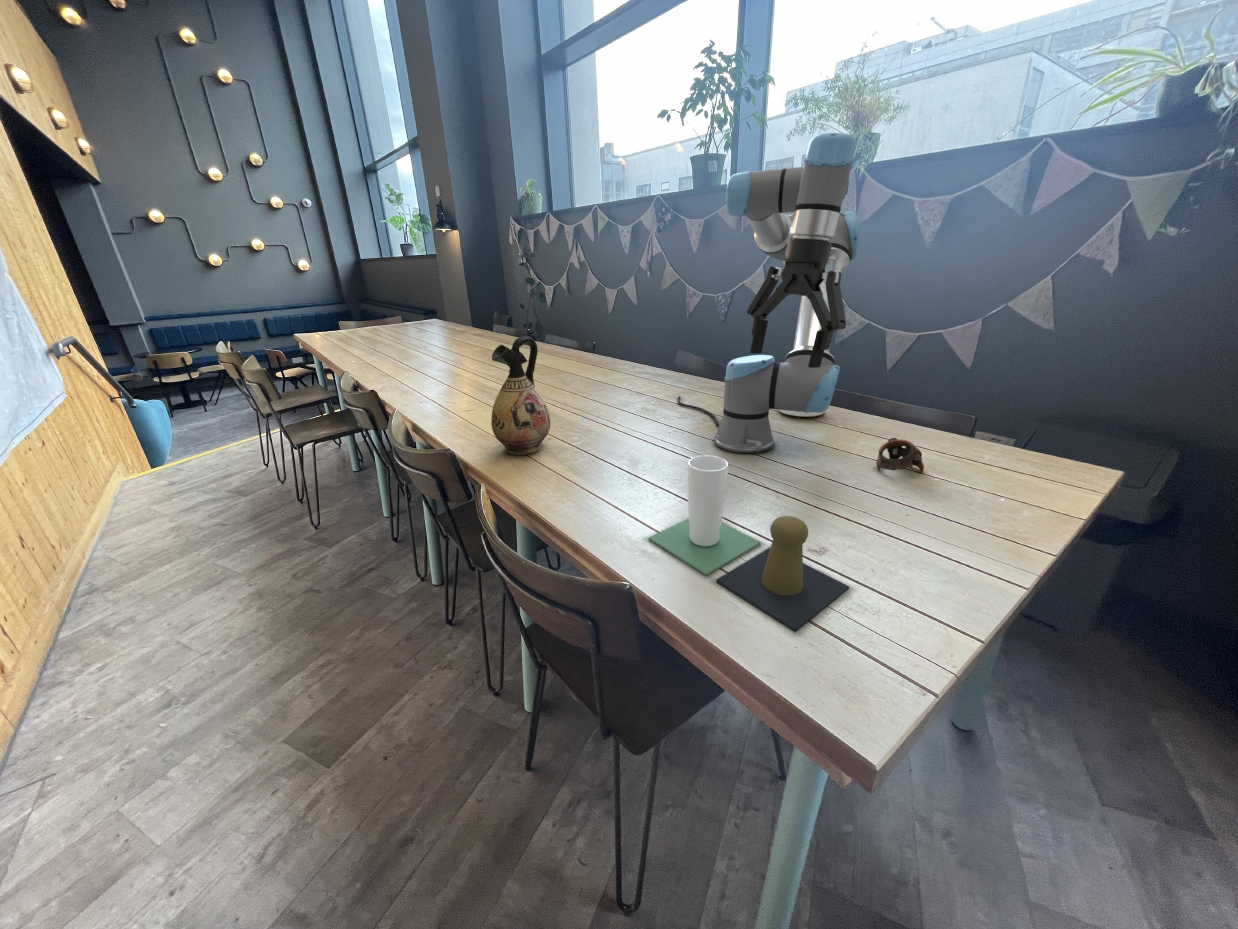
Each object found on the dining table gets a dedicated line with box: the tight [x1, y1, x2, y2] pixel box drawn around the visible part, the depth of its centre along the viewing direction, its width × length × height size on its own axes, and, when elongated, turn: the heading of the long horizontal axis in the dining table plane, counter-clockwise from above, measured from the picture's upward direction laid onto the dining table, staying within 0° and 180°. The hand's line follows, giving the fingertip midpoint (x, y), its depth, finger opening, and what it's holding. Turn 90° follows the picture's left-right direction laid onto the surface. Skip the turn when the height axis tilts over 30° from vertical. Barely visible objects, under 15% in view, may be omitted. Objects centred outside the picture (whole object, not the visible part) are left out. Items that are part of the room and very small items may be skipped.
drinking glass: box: [686, 454, 729, 547], centre depth 81 cm, size 7×7×15 cm
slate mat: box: [715, 546, 850, 632], centre depth 72 cm, size 14×14×1 cm
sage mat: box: [648, 518, 762, 577], centre depth 84 cm, size 14×14×1 cm
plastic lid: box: [778, 410, 825, 417], centre depth 150 cm, size 14×14×2 cm
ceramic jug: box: [490, 335, 551, 456], centre depth 123 cm, size 17×15×30 cm
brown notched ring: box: [875, 437, 925, 474], centre depth 109 cm, size 12×10×8 cm
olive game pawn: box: [762, 515, 809, 596], centre depth 70 cm, size 6×6×11 cm
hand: (783, 359), depth 91 cm, fingers open, 13 cm apart
